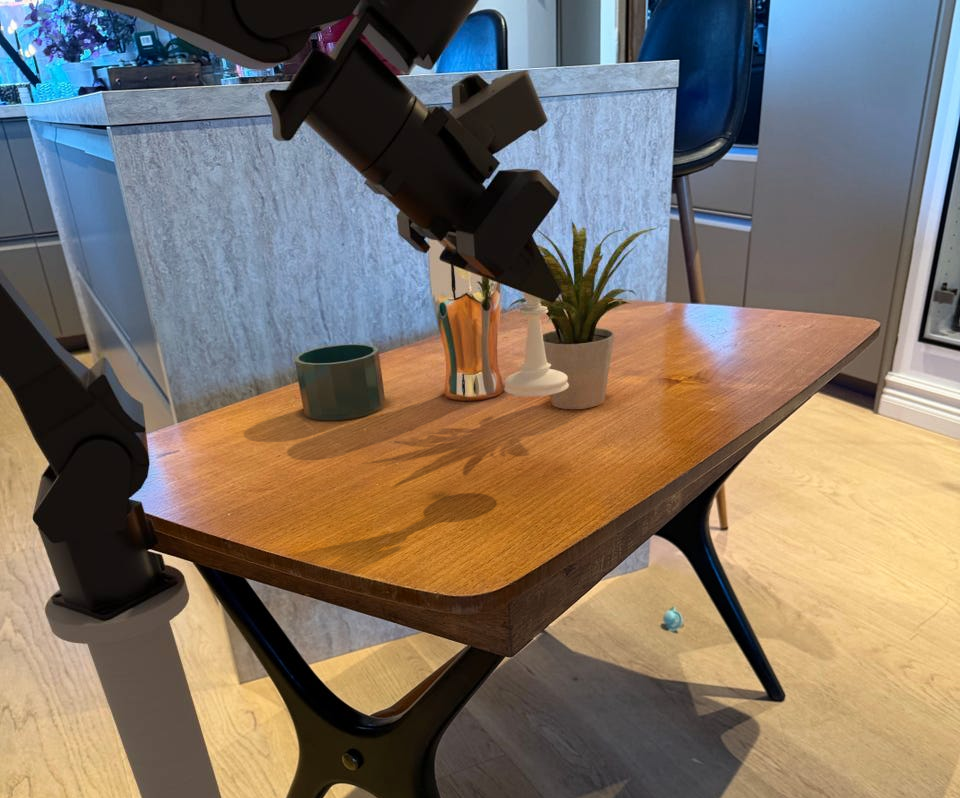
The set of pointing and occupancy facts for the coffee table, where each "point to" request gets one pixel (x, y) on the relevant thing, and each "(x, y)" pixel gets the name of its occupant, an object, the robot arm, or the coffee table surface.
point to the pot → (340, 381)
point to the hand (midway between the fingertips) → (550, 295)
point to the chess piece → (535, 359)
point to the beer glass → (466, 328)
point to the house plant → (581, 323)
